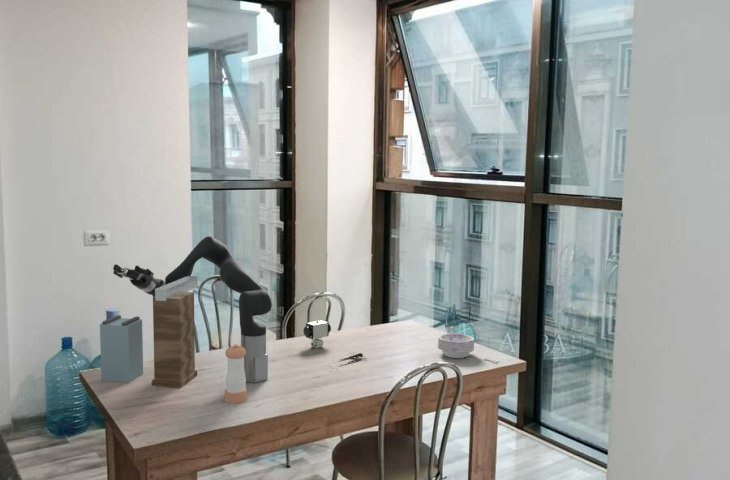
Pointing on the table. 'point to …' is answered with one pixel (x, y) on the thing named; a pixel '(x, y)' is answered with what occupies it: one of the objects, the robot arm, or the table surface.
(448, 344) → the grey stone bowl
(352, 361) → the hacksaw
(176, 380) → the tall stand
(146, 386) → the table surface
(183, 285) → the steel bar
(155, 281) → the robot arm
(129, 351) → the blue grey angular block
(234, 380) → the pepper shaker
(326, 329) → the pneumatic valve
